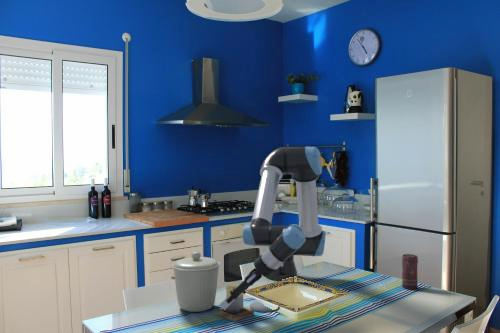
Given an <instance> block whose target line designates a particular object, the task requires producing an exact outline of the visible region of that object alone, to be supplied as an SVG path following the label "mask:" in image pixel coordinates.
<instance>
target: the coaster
mask: <svg viewBox="0 0 500 333" xmlns="http://www.w3.org/2000/svg"><path fill="white" fill-rule="evenodd" d="M258 301H259V300H258ZM258 301H254V302H251V303H250V305H249V309H251V310H254V312H256V313H271V312H275V311H274V310H272V309H270V308H268V307H266V306H264V305H263V304H261V303H260V302H258Z"/></svg>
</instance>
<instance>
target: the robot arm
mask: <svg viewBox="0 0 500 333" xmlns="http://www.w3.org/2000/svg"><path fill="white" fill-rule="evenodd" d="M322 173H323V162H322V156H321V152H320V150H319V149H318V147H316V146H309V145H308V146H307V145H306V146H282V147H277V149H274V150H273V151H272V152H270V153H269V154H268V155H267V156H266V158H265V159H264V160H263V162H262V164H261V165H260V170H259V175H260V176H261V177H260V181H259V186H258V190H257V195H256V199H255V204H254V209H253V213H252V218H251V223H250V224H249V223H248V224H245V225H244V226H243V228H242V234H241V235H242V237H241V238H242V242H243V243H244V245H247V246H259V247H261V246H263V247H264V246H265V247H266V249H265V250H264V251H262V252H261V254H259V256H257V258H256V259H255V260H254V261H253V266H254V268H253V269H252V270H250V272H249V273H248V274H247V275H246V276H245V277H244V280H243V281H242V282H240V283H241V284H240V285H239V286H238V287H237V288H236V289H235V290H234V291H233V292H232V291H230V293H231V294H230V295H229V296H228V297H225V298H224V299H223V300H222V301H221V302H220V304H219V306H220V307H221V309H224V310H226V309H227V308H228V307H229V306H230V305H231V304H232V303H233V302H234V301H235V300H236V299H237V298H238V296H239V295H240V294H241V293H242V292H243V295H245V294H246V293H247V290H248V288H249V287H252V286H253V285H254V284H255V283H257V282H258V281H260V280H261V278H263V277H264V278H267V279H269V280H272V281H280V280H282V279H286V278H289V277H294V276H298V270H297V267H296V263H295V260H294V258H295V256H303V257H304V256H305V257H307V256H308V257H321V256H323V255H324V251H325V244H326V236H327V232H326V231H324V230H323V227H322V226H321V225H320V224H319V211H318V210H319V209H318V197H317V182H316V181H317V180H318V179H319V178H320V175H321V174H322ZM284 175H291V179H292V180H293V181H294V182H295V185H296V186H295V188H296V198H297V199H296V200H297V211H298V220H299V221H298V223H299V224H295V223H292V224H288V225H272V221H273V215H274V211H275V205H276V199H277V195H278V190H279V184H280V180H282V178H283V176H284Z"/></svg>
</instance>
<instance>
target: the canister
mask: <svg viewBox="0 0 500 333" xmlns="http://www.w3.org/2000/svg"><path fill="white" fill-rule="evenodd" d="M220 266H221V262H220V261H218V260H216V259H215V258H212V257H207V256H202V253H201V252H199V251H193V252H192V253H191V257H184V258H180V259H178V260H176V261H175V262H174V263H172V265H171V268H172V269H173V274H174V283H175V293H176V298H177V303H178V306H179V308H180V309H181V310H183V311H185V312H190V313H199V312H205V311H208V310H210V309H212V308H213V306H214V305H215V301H216V296H217V288H218V277H219V276H218V275H219V267H220Z"/></svg>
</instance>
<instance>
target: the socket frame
mask: <svg viewBox="0 0 500 333" xmlns="http://www.w3.org/2000/svg"><path fill="white" fill-rule="evenodd" d="M253 315H255V311H254V310H251V309H250V308H249V307H246V306H243V313H240V314H237V315H232V314H229V313H227V309H226V310H224V309H223V308H221V309H218V310H216V316H219V317H221V318H224V319H226V320H230V321H232V322H236V321H239V320H243V319H245V318H248V317H251V316H253Z"/></svg>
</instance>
